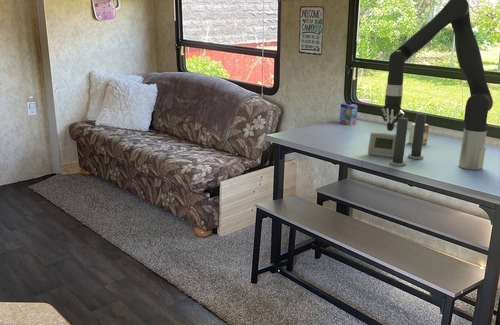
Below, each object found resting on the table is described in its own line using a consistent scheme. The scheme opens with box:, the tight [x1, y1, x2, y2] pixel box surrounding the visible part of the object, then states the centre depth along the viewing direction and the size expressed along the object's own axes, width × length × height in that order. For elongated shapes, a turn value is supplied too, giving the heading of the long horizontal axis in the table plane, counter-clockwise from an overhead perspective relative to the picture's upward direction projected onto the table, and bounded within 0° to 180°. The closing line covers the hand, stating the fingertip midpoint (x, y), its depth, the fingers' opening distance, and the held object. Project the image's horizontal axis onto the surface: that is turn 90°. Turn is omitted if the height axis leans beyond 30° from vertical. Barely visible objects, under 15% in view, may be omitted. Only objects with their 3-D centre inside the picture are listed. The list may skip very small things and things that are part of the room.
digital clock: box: [367, 131, 396, 159], centre depth 236 cm, size 16×9×11 cm, turn 55°
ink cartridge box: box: [339, 100, 359, 126], centre depth 307 cm, size 10×6×14 cm, turn 35°
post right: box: [407, 112, 427, 160], centre depth 233 cm, size 7×7×21 cm
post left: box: [389, 117, 409, 167], centre depth 221 cm, size 7×7×21 cm
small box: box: [407, 123, 430, 145], centre depth 261 cm, size 8×6×10 cm
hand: (390, 130), depth 235 cm, fingers closed
